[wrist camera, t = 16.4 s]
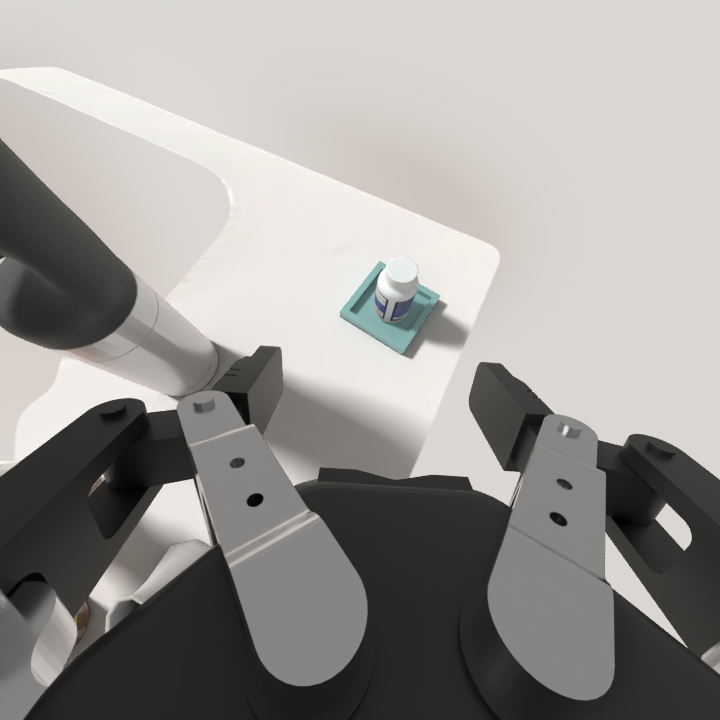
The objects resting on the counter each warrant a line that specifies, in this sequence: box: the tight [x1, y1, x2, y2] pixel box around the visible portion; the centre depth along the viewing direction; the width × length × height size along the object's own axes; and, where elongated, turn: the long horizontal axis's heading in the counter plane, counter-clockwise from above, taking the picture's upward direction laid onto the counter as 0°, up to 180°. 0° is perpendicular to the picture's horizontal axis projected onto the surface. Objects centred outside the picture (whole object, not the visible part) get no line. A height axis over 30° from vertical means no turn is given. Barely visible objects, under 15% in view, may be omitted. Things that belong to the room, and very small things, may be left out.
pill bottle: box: [374, 256, 419, 323], centre depth 41 cm, size 5×5×10 cm
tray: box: [340, 261, 440, 355], centre depth 45 cm, size 11×11×2 cm
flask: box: [105, 539, 211, 633], centre depth 29 cm, size 7×7×10 cm
